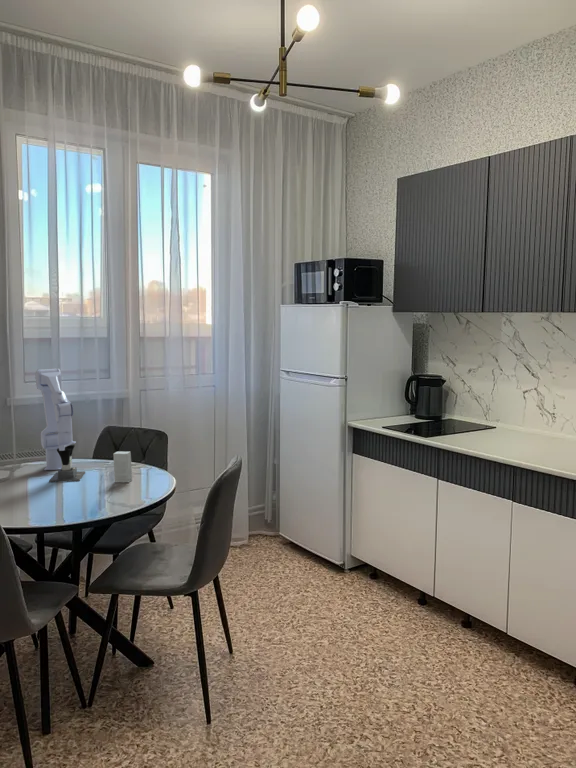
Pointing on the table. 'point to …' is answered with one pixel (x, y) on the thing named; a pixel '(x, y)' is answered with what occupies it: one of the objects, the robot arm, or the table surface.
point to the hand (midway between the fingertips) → (66, 463)
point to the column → (67, 467)
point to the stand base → (67, 475)
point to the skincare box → (122, 466)
